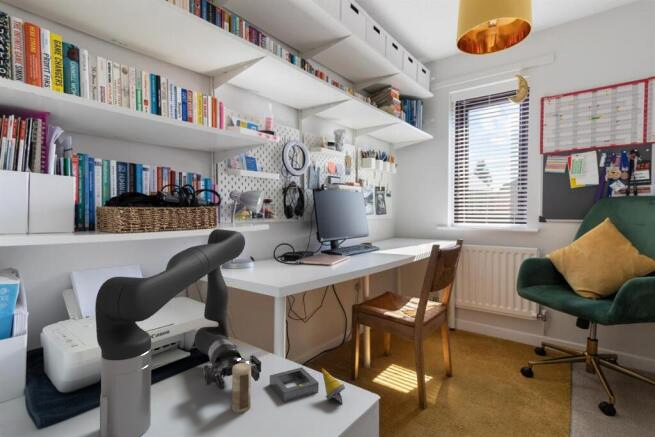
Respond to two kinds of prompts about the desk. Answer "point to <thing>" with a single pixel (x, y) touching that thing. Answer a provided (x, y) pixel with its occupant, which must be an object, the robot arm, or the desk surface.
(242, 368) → the birch shaft
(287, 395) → the grey square tray
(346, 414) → the desk surface
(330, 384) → the yellow spinning top
